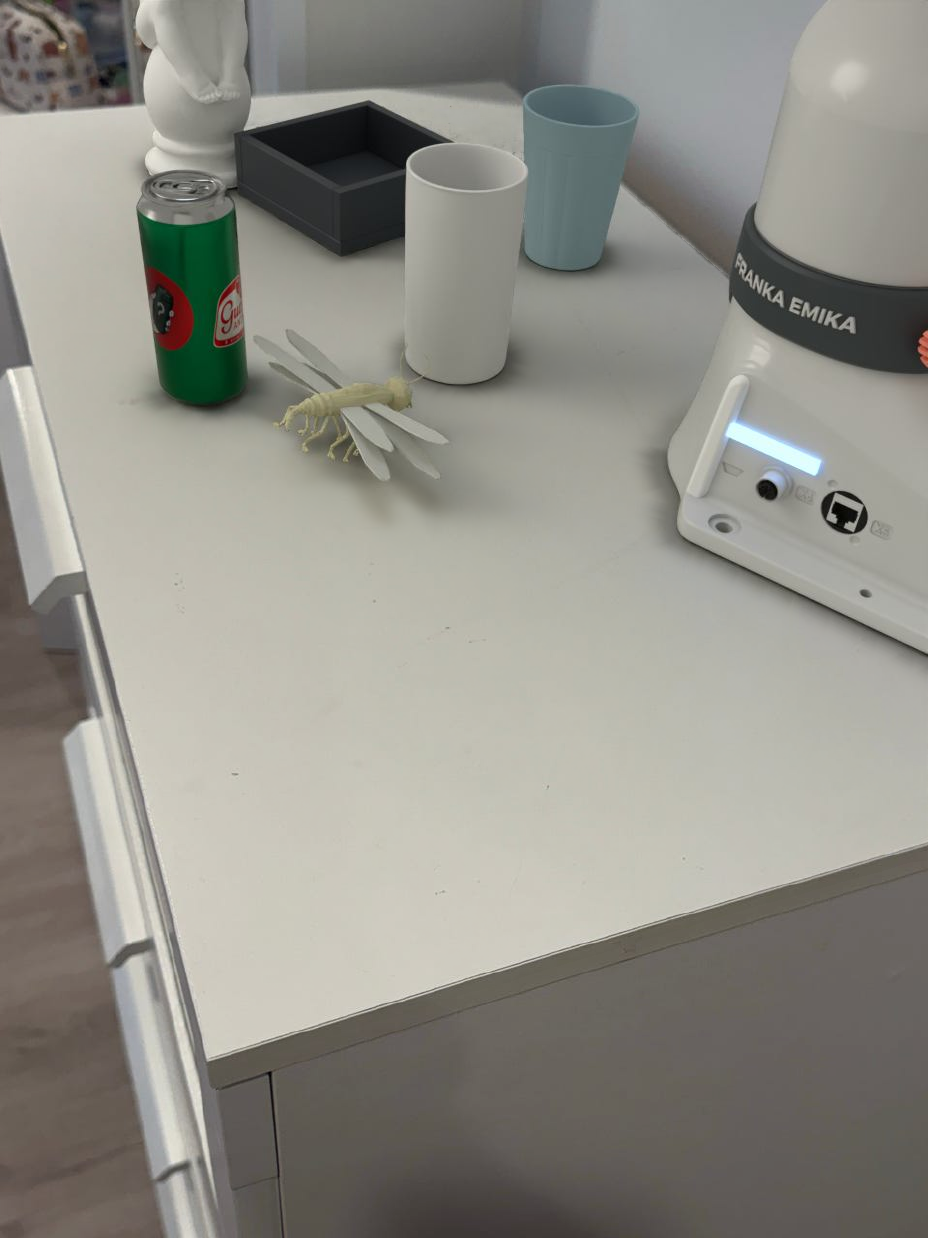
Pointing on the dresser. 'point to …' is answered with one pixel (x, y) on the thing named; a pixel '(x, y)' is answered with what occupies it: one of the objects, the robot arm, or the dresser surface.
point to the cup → (573, 170)
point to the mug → (461, 258)
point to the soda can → (193, 285)
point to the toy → (353, 407)
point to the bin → (333, 172)
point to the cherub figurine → (195, 83)
